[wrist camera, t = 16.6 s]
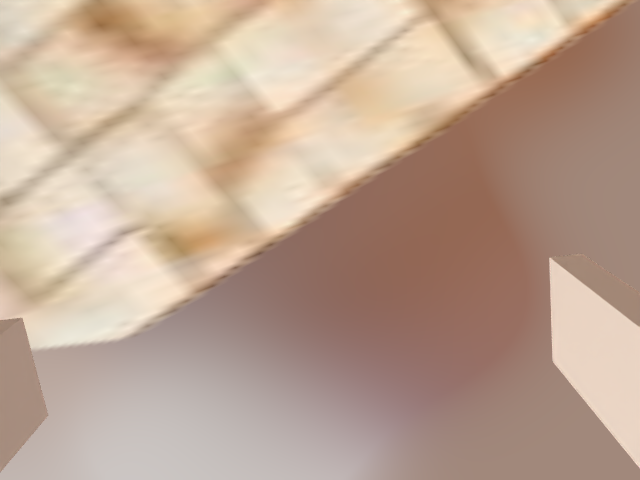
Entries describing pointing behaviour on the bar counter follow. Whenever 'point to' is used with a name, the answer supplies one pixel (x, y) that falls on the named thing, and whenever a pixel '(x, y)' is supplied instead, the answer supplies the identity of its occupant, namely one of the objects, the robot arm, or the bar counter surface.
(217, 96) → the bar counter surface
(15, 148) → the bar counter surface
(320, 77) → the bar counter surface
